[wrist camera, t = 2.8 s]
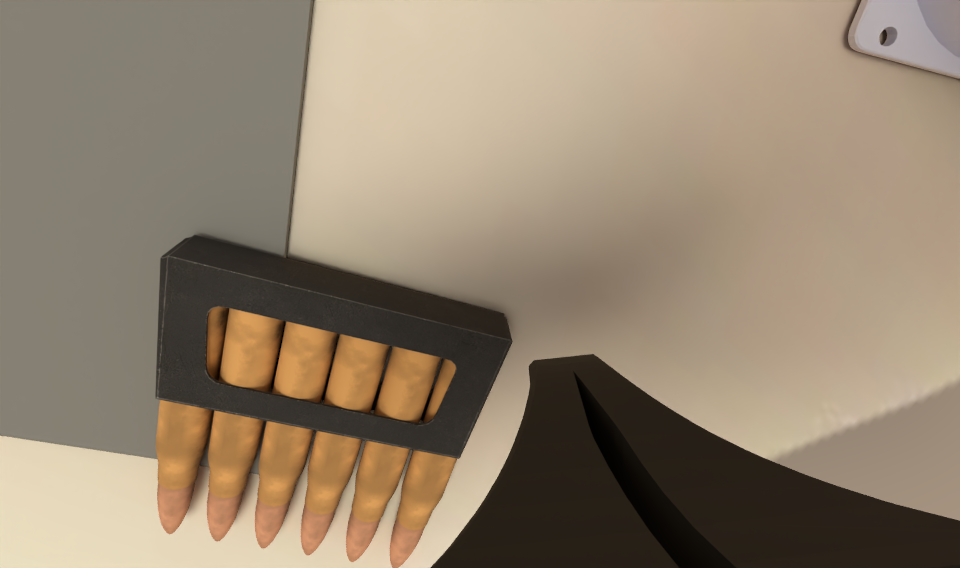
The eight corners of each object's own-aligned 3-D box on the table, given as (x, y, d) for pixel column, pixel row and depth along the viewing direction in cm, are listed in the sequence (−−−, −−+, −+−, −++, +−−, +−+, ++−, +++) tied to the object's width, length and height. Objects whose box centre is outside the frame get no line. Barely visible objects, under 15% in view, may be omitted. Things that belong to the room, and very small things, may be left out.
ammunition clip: (187, 232, 17) (155, 509, 21) (159, 253, 15) (131, 549, 19) (506, 314, 19) (417, 551, 23) (513, 341, 17) (415, 590, 22)
